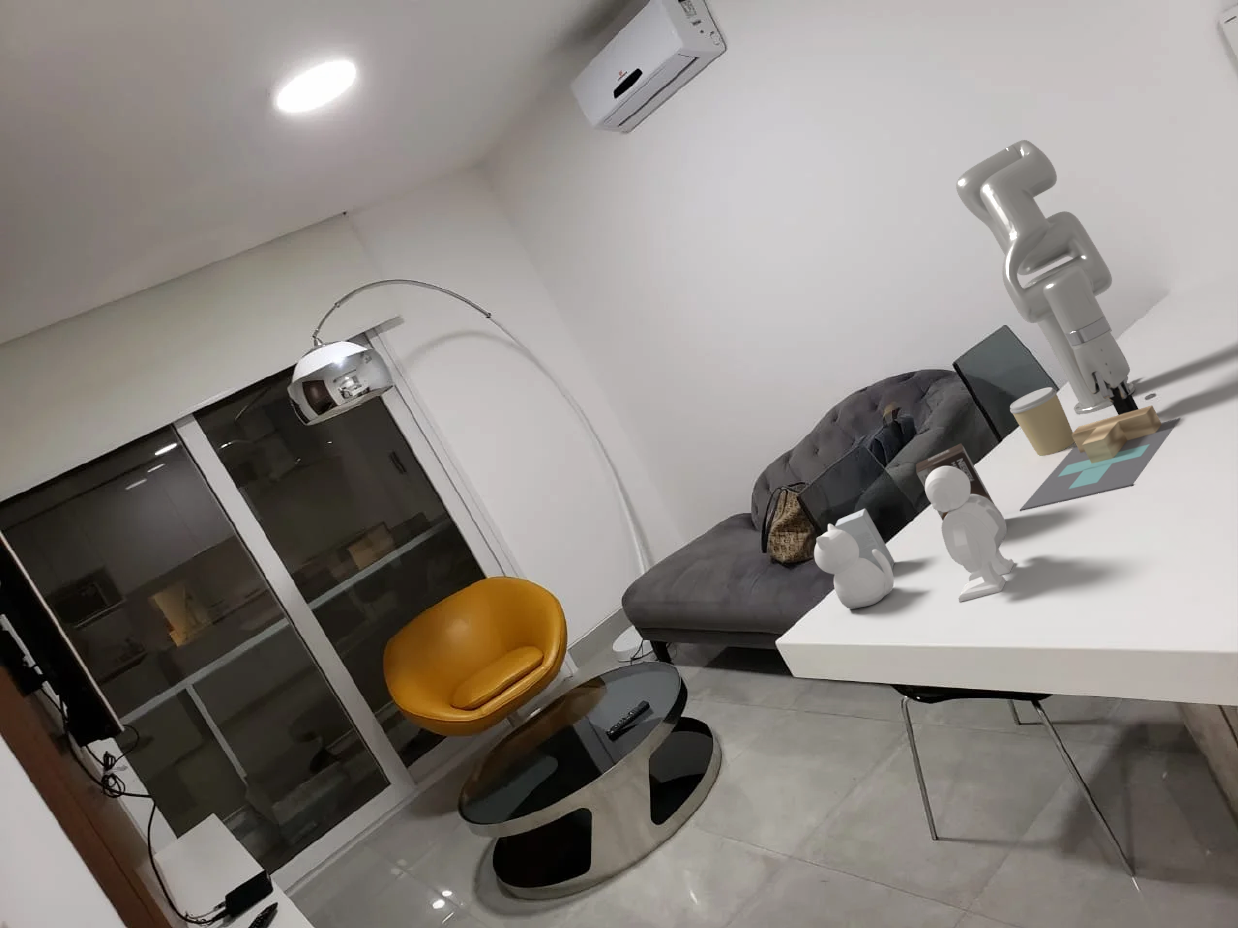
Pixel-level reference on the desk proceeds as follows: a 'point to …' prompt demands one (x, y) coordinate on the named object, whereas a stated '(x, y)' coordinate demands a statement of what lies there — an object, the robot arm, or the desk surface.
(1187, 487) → the desk surface
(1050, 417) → the coffee cup
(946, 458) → the coffee box
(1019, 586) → the desk surface
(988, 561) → the white humanoid figurine
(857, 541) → the skincare box
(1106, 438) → the pine T block
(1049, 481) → the rubber mat
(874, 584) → the cat figurine
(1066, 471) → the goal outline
